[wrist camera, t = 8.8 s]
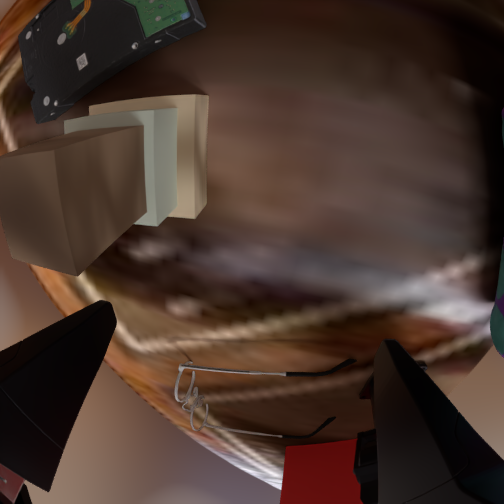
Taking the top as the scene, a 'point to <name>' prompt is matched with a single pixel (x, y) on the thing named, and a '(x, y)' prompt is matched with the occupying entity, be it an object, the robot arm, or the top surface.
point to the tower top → (147, 154)
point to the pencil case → (499, 299)
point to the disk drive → (95, 44)
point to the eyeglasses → (199, 398)
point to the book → (320, 474)
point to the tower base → (179, 144)
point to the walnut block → (72, 196)
